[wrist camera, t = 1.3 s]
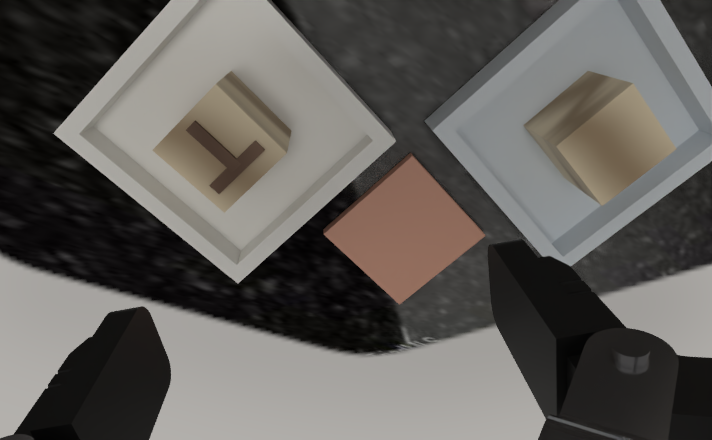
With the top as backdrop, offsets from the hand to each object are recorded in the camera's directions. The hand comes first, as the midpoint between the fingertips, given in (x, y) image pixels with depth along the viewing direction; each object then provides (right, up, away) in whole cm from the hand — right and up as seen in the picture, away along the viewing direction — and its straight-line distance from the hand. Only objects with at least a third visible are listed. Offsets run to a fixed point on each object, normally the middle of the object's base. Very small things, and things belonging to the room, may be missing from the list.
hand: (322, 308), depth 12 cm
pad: (+4, +1, +24) cm, 25 cm away
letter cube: (-7, +8, +20) cm, 22 cm away
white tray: (-7, +8, +20) cm, 23 cm away
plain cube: (+15, +8, +21) cm, 27 cm away
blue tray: (+15, +8, +22) cm, 28 cm away
